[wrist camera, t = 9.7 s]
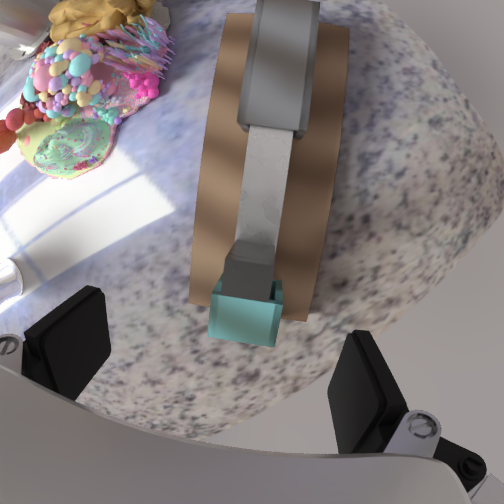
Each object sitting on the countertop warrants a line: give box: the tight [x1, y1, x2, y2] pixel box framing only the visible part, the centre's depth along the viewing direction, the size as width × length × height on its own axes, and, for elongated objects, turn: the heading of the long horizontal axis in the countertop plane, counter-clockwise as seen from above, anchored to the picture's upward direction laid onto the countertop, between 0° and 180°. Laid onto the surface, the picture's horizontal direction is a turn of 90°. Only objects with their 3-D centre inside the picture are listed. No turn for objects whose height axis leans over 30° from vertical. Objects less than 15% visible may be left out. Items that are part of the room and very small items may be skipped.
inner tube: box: [221, 124, 294, 302], centre depth 20 cm, size 19×3×8 cm, turn 172°
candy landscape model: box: [0, 0, 176, 180], centre depth 20 cm, size 25×24×9 cm
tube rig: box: [189, 0, 349, 347], centre depth 22 cm, size 30×12×7 cm, turn 172°
